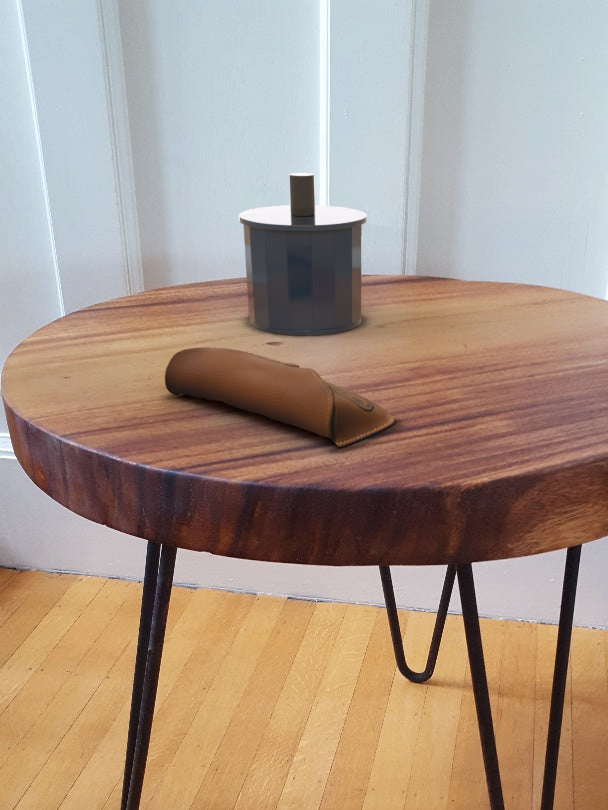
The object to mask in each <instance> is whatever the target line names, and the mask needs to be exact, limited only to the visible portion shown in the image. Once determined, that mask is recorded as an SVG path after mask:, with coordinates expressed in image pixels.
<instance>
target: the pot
mask: <svg viewBox="0 0 608 810" xmlns="http://www.w3.org/2000/svg"><path fill="white" fill-rule="evenodd" d="M242 225H243V237H244V238H243V242H244V255H245V256H244V257H245V271H246V287H247V305H248V306H247V307H248V319H249V322H250V325H251V326H252V327H254V328H256V329H258V330H260V331H263V332H267V333H272V334H277V335H285V336H300V337H301V336H306V337H307V336H325V335H332V334H339V333H343V332H344V333H345V332H346V331H350V330H353V329H355V328H357V327H359V326H360V325H361V324H362V314H363V285H362V284H363V224H362V225H359V226H356V227H352V228H346V229H338V230H327V231H279V230H267V229H260V228H254V227H250V226H246V225H244V224H242Z"/></svg>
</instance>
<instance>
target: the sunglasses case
mask: <svg viewBox="0 0 608 810" xmlns="http://www.w3.org/2000/svg"><path fill="white" fill-rule="evenodd" d="M164 373H165V374H164V385H165V389H166V390H167V391H168V392H169V393H170V394H171V395H175V396H181V395H185V396H191V397H195V398H197V399H201V398H204V399H206V400H208V401H218V402H223V403H224V404H226V405H229V406H232V407H234V408H238V409H241V410H243V411H246V412H250V413H255V414H259V415H263V416H264V417H266V418H268V419H271V420H274V421H277V422H280V423H284V424H287V425H290V426H293V427H297V428H299V429H302V430H305V431H308V432H311V433H314V434H316V435H318V436H319V437H326V438H329V439H330V440H331V441H332V443H334V444H335V445H336V446H337V447H338V448H344V447H346V446H348V445H352V444H357V443H358V442H362V441H364V440H366V439H369V438H371V437H374V436H375V435H377V434H379V433H380V432H382V431H385V430H387V428H390V427H391V426H393V425H394V424H395V423H396V421H397V419H396V417H395V415H392V414H391V413H390V412H389V411H388V410H386V409H385V408H384V407H382V406H381V405H380V404H378V403H376V402H374V401H373V400H371V399H368V398H366V397H364V396H362V395H360V394H357V393H356V392H354V391H351V390H349V389H346V388H344V387H341V386H339V385H336V384H333V383H332V382H328V381H326V380H325V379H323V378H322V376H321V375H320V374H318V372H317V371H316V370H315V369H314V368H311V367H300V365H299V364H297V363H293V362H284V361H282V360H281V361H280V360H276V359H272V358H270V357H266V356H262V355H259V354H255V353H252V352H249V351H244V350H239V349H232V348H225V347H208V346H207V347H206V346H205V347H192V348H191V347H190V348H185V349H182V350H180V351H176V353H175V354H174V355H172V357H171V358H170V360H169V361H168V363H167V365H166V368H165V372H164Z"/></svg>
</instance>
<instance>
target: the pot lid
mask: <svg viewBox="0 0 608 810" xmlns="http://www.w3.org/2000/svg"><path fill="white" fill-rule="evenodd" d="M315 179H316V177H315V174H314V173H310V172H293V173H289V175H288V180H289V181H288V182H289V204H286V205H283V204H282V205H272V206H261V207H255V208H250V209H247V210H243V211H242V212H240V213H239V214H238V222H239V223H240V224H241V225H243V224H244V225H246V226H250V227H254V228H260V229H267V230H279V231H327V230H338V229H346V228H352V227H356V226H359V225H362V226H363V225H364V224H365V223H367V221H368V216H367V213H366V212H364V211H362V210H359V209H356V208H351V207H343V206H336V205H335V206H334V205H320V204H316V187H315V185H316V182H315ZM244 225H243V226H244Z"/></svg>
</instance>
